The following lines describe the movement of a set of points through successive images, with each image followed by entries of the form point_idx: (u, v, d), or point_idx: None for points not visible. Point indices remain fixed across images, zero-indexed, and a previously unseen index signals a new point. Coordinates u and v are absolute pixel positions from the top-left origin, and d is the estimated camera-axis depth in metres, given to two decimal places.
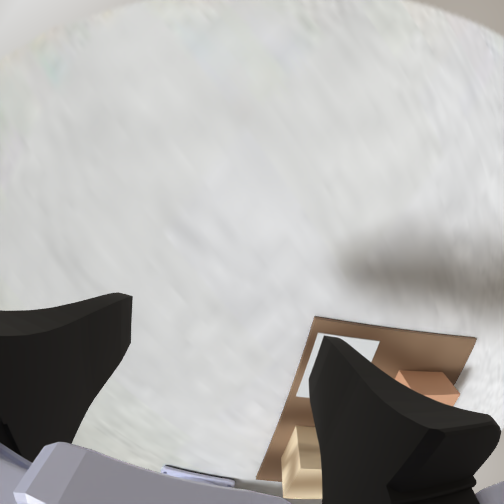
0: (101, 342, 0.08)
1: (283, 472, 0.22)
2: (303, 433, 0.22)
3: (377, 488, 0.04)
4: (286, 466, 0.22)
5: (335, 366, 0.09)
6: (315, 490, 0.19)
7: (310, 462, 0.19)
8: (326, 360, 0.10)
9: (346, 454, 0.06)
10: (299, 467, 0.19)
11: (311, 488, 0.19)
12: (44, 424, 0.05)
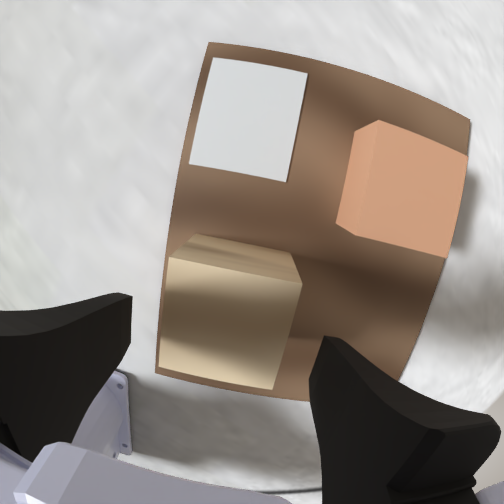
0: (101, 342, 0.08)
1: None
2: (203, 239, 0.15)
3: (377, 488, 0.04)
4: None
5: (335, 366, 0.09)
6: (217, 348, 0.12)
7: (194, 256, 0.12)
8: (326, 360, 0.10)
9: (346, 454, 0.06)
10: (170, 261, 0.11)
11: (206, 339, 0.12)
12: (44, 424, 0.05)
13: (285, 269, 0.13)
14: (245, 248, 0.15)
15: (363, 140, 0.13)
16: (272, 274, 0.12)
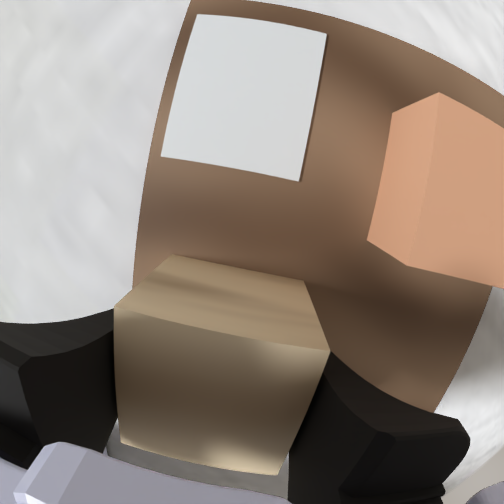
0: None
1: None
2: (180, 264, 0.10)
3: (330, 491, 0.04)
4: None
5: None
6: (198, 432, 0.07)
7: (156, 302, 0.07)
8: None
9: (308, 453, 0.06)
10: (118, 311, 0.07)
11: (181, 420, 0.07)
12: (79, 441, 0.05)
13: (300, 318, 0.08)
14: (240, 278, 0.10)
15: (410, 122, 0.08)
16: (281, 333, 0.07)
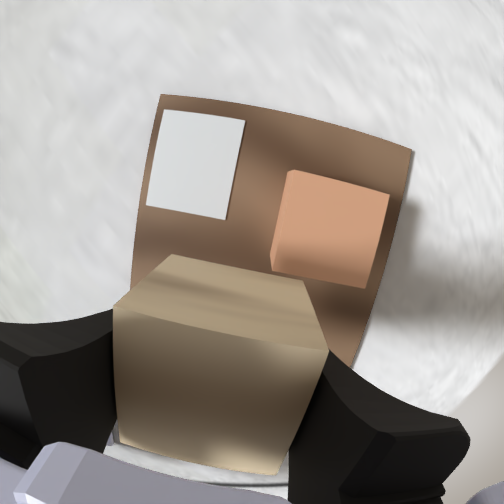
0: None
1: None
2: (180, 263, 0.10)
3: (331, 491, 0.04)
4: None
5: None
6: (197, 432, 0.07)
7: (155, 302, 0.07)
8: None
9: (308, 453, 0.06)
10: (117, 311, 0.07)
11: (180, 420, 0.07)
12: (79, 441, 0.05)
13: (299, 318, 0.08)
14: (239, 278, 0.10)
15: (287, 183, 0.16)
16: (280, 333, 0.07)
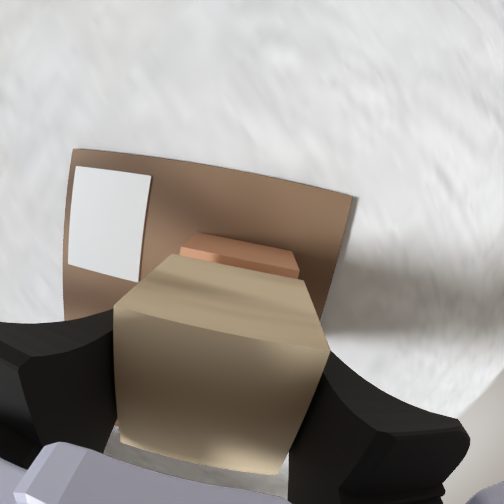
0: None
1: None
2: (180, 263, 0.10)
3: (331, 491, 0.04)
4: None
5: None
6: (198, 432, 0.07)
7: (156, 302, 0.07)
8: None
9: (308, 453, 0.06)
10: (117, 311, 0.07)
11: (181, 420, 0.07)
12: (79, 441, 0.05)
13: (300, 318, 0.08)
14: (240, 278, 0.10)
15: None
16: (281, 333, 0.07)
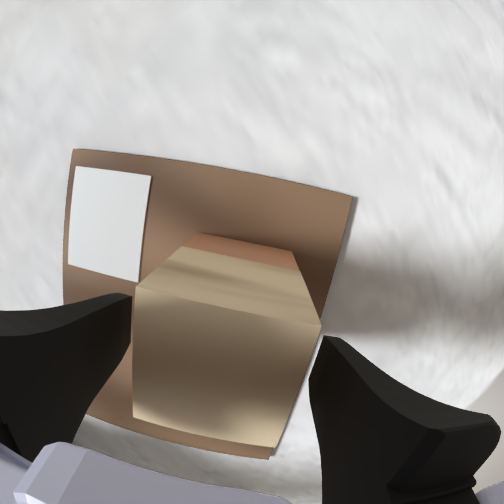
0: (101, 342, 0.08)
1: None
2: (190, 254, 0.12)
3: (377, 488, 0.04)
4: None
5: (335, 366, 0.09)
6: (205, 403, 0.09)
7: (172, 284, 0.08)
8: (326, 360, 0.10)
9: (346, 454, 0.06)
10: (138, 292, 0.08)
11: (190, 391, 0.08)
12: (44, 424, 0.05)
13: (296, 300, 0.09)
14: (243, 267, 0.11)
15: None
16: (279, 311, 0.08)
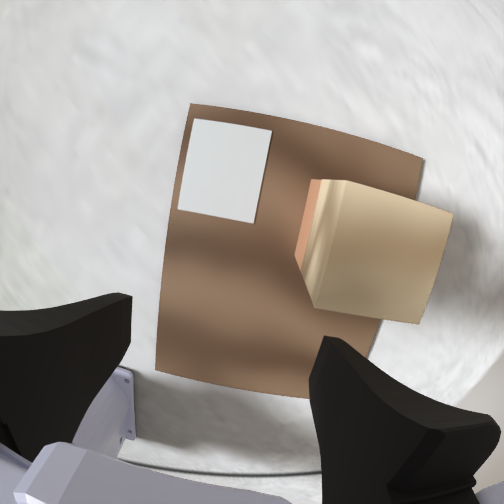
0: (101, 342, 0.08)
1: (308, 274, 0.14)
2: None
3: (377, 488, 0.04)
4: (313, 253, 0.14)
5: (335, 366, 0.09)
6: (380, 280, 0.11)
7: None
8: (326, 360, 0.10)
9: (346, 454, 0.06)
10: (343, 187, 0.11)
11: (372, 269, 0.11)
12: (44, 424, 0.05)
13: None
14: None
15: (313, 191, 0.17)
16: None
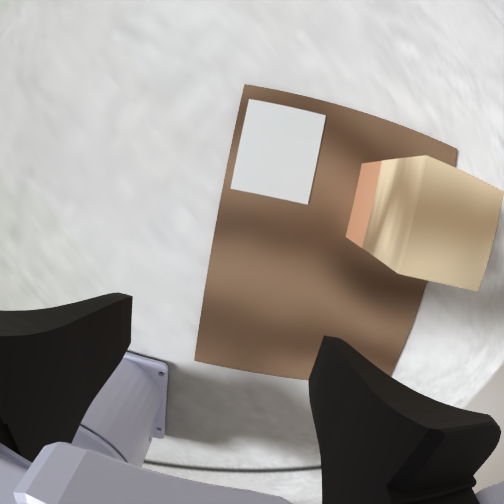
0: (101, 342, 0.08)
1: (378, 247, 0.14)
2: None
3: (377, 488, 0.04)
4: (383, 227, 0.14)
5: (335, 366, 0.09)
6: (451, 248, 0.11)
7: None
8: (326, 360, 0.10)
9: (346, 454, 0.06)
10: (422, 161, 0.11)
11: (445, 238, 0.11)
12: (44, 424, 0.05)
13: None
14: None
15: (368, 173, 0.17)
16: None
